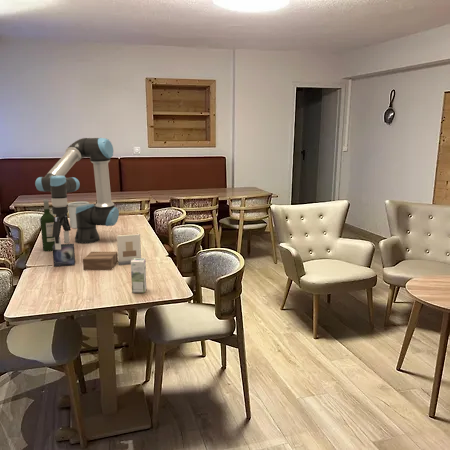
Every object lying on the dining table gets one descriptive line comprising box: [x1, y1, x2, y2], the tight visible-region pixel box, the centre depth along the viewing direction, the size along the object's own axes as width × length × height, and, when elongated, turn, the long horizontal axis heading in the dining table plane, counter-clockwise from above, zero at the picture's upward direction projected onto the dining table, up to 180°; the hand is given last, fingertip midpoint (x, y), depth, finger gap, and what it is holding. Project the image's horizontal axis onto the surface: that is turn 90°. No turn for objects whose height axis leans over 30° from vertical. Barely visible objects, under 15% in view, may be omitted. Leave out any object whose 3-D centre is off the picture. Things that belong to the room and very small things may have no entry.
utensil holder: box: [67, 201, 90, 229], centre depth 320 cm, size 15×15×18 cm
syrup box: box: [130, 257, 148, 294], centre depth 193 cm, size 6×6×14 cm
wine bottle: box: [39, 198, 55, 252], centre depth 257 cm, size 8×8×30 cm
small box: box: [52, 242, 76, 268], centre depth 231 cm, size 11×6×10 cm, turn 105°
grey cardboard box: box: [116, 233, 142, 266], centre depth 234 cm, size 6×12×15 cm, turn 107°
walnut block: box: [82, 251, 118, 271], centre depth 229 cm, size 14×14×6 cm
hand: (62, 246), depth 230 cm, fingers open, 13 cm apart
